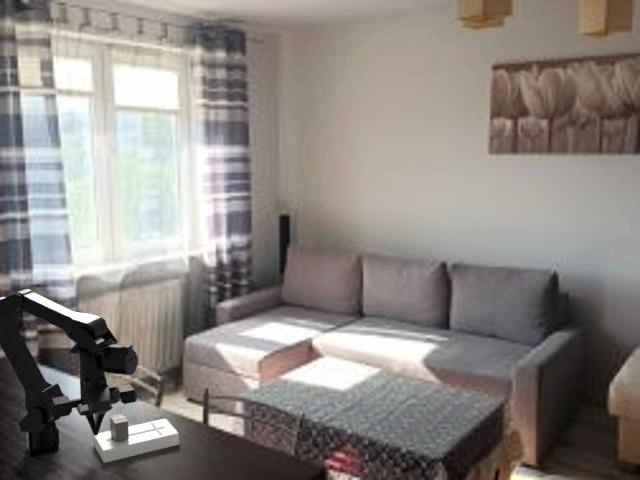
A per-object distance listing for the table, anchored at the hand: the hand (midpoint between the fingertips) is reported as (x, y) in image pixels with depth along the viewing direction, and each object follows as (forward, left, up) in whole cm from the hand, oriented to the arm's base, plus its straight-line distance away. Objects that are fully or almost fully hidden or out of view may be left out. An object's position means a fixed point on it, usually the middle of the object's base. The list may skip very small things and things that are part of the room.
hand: (95, 434), depth 151 cm
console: (+10, 0, -5) cm, 11 cm away
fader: (+6, 0, -2) cm, 6 cm away
